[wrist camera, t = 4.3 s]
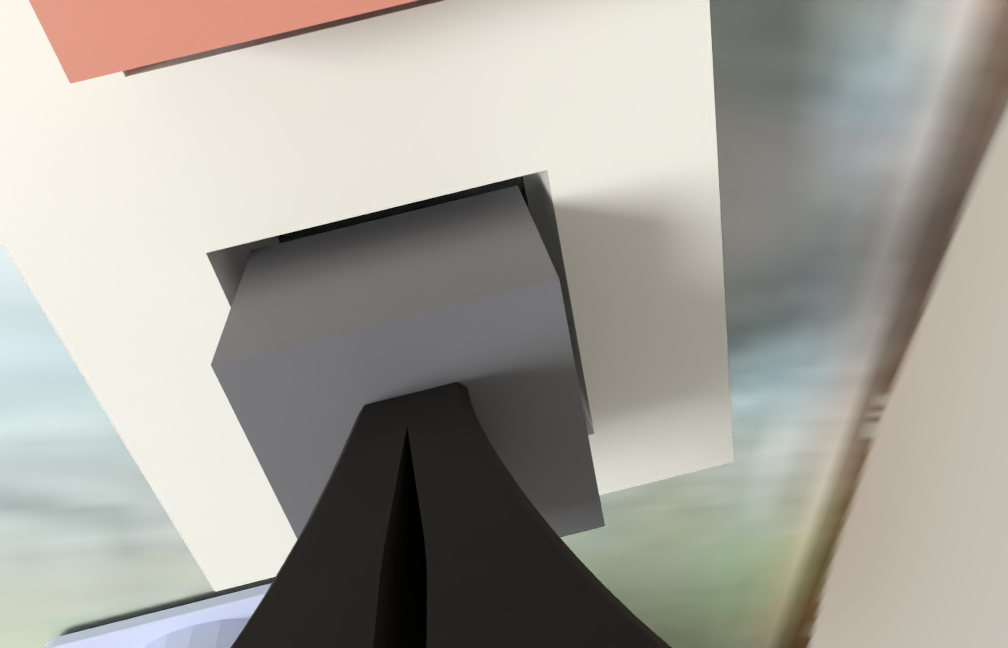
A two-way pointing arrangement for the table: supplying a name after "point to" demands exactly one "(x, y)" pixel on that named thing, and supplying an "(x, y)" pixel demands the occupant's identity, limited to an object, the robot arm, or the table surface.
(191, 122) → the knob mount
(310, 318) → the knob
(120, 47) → the middle knob
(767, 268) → the table surface
